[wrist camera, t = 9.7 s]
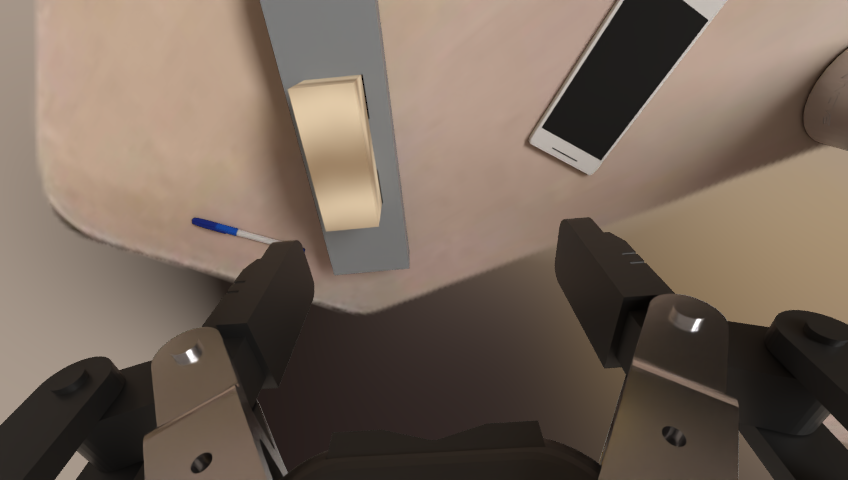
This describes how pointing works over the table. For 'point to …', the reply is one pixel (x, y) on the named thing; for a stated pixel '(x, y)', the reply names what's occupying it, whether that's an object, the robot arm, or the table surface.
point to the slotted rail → (364, 55)
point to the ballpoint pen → (232, 231)
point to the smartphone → (619, 77)
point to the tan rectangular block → (338, 150)
